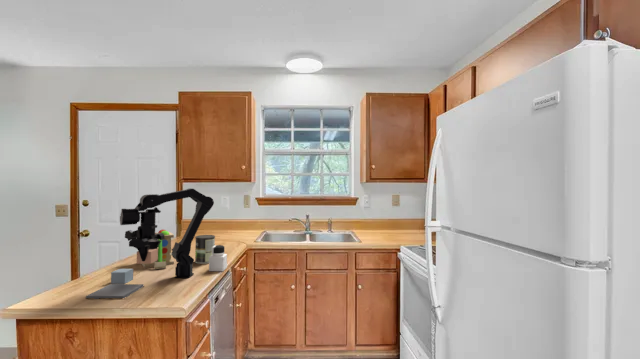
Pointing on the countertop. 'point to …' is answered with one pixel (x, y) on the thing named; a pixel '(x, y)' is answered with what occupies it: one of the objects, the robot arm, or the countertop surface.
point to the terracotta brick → (148, 256)
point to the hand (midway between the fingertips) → (147, 259)
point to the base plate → (115, 291)
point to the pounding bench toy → (163, 252)
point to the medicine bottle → (218, 259)
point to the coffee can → (204, 248)
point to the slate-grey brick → (121, 276)
